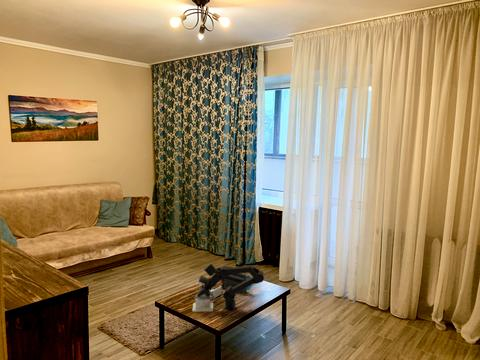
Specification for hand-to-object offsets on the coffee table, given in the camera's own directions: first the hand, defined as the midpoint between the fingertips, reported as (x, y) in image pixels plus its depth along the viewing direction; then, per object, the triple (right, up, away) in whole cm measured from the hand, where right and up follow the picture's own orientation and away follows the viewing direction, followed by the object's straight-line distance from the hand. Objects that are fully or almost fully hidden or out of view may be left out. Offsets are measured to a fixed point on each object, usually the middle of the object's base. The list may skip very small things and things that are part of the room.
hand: (197, 295), depth 249 cm
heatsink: (+3, -9, +1) cm, 10 cm away
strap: (+3, -1, 0) cm, 4 cm away
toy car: (+6, -7, +23) cm, 24 cm away
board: (+3, -9, +1) cm, 10 cm away
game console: (+25, -6, +30) cm, 40 cm away
